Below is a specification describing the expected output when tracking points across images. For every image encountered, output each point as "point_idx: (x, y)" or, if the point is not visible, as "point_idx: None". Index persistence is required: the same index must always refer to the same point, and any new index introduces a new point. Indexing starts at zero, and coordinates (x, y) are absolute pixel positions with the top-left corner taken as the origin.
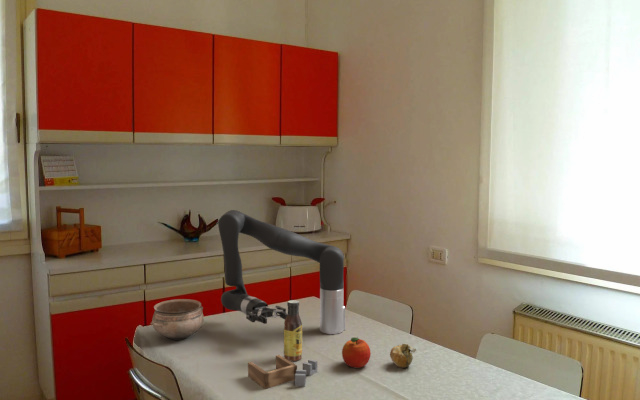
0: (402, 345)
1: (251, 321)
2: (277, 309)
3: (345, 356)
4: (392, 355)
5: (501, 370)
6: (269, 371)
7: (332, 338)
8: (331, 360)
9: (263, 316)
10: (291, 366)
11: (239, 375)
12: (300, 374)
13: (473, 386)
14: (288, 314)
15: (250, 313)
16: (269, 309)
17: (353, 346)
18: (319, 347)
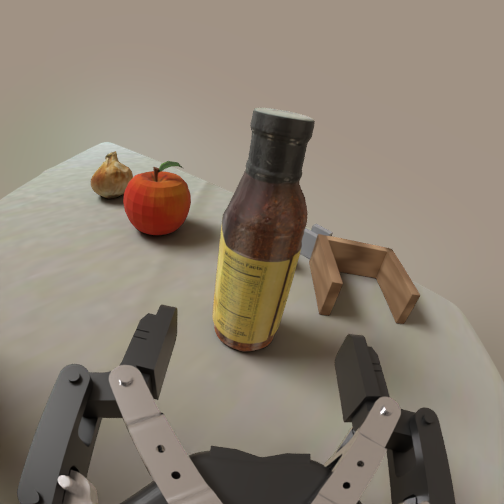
0: (114, 157)
1: (410, 451)
2: (130, 421)
3: (189, 206)
4: (128, 176)
5: (72, 157)
6: (381, 250)
7: (4, 331)
8: (168, 263)
9: (362, 365)
10: (331, 237)
11: (420, 338)
12: (322, 228)
13: (130, 159)
14: (300, 177)
15: (438, 472)
16: (204, 485)
17: (179, 178)
18: (99, 325)
